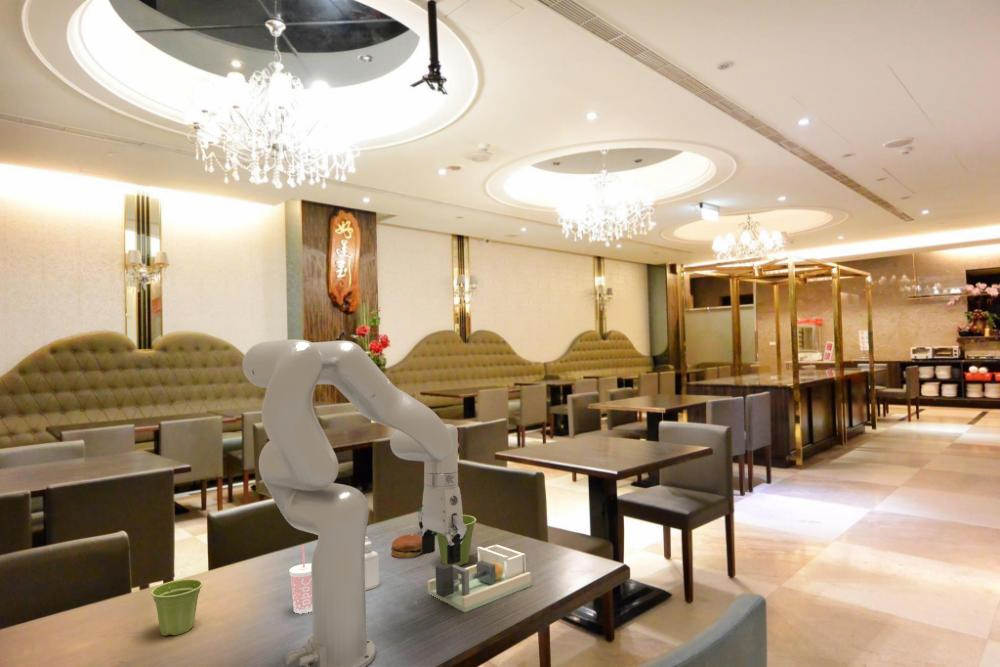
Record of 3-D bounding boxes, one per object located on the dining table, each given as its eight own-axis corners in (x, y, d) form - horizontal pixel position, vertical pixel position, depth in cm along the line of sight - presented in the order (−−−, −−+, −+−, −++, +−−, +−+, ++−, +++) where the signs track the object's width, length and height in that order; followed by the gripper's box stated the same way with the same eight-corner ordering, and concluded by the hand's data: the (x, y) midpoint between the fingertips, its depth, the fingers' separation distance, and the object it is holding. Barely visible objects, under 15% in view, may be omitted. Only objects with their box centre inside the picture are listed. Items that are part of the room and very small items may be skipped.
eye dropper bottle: (378, 589, 137) (377, 538, 138) (354, 592, 136) (353, 540, 137) (380, 582, 141) (378, 533, 142) (356, 584, 140) (355, 535, 141)
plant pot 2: (483, 565, 150) (482, 522, 151) (440, 573, 146) (438, 528, 147) (469, 552, 161) (468, 511, 162) (428, 559, 157) (427, 517, 158)
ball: (497, 562, 136) (508, 566, 138) (486, 558, 139) (497, 562, 141) (492, 580, 135) (503, 583, 137) (481, 575, 138) (492, 579, 140)
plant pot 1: (191, 615, 126) (191, 575, 127) (210, 626, 120) (210, 584, 121) (144, 632, 119) (143, 589, 120) (162, 645, 113) (161, 600, 114)
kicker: (446, 601, 125) (445, 571, 126) (433, 594, 129) (432, 565, 129) (495, 582, 135) (494, 554, 135) (482, 577, 139) (481, 549, 139)
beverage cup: (288, 617, 124) (287, 551, 124) (291, 605, 130) (290, 542, 130) (318, 613, 125) (317, 547, 126) (319, 601, 131) (318, 539, 132)
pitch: (464, 612, 123) (463, 575, 123) (427, 593, 134) (426, 559, 134) (531, 585, 136) (530, 552, 137) (493, 570, 147) (492, 539, 147)
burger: (392, 560, 157) (391, 543, 157) (391, 550, 166) (390, 533, 166) (428, 557, 159) (428, 539, 159) (425, 546, 168) (424, 530, 169)
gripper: (478, 482, 125) (478, 563, 124) (432, 473, 138) (432, 546, 137) (450, 486, 120) (450, 571, 119) (406, 476, 133) (405, 552, 132)
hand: (440, 557), depth 128 cm, fingers open, 9 cm apart
